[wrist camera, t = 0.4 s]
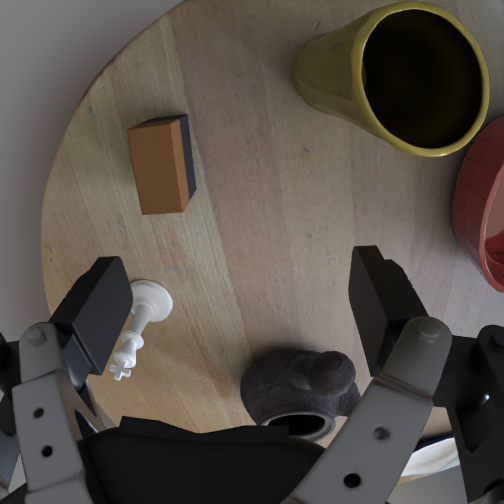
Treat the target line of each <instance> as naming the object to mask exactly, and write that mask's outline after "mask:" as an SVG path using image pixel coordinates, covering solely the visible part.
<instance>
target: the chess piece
mask: <svg viewBox="0 0 504 504" xmlns="http://www.w3.org/2000/svg"><path fill="white" fill-rule="evenodd" d="M130 286H131V289H132V293H133V305H132V308H131V312H132V313H133V314H134V318H133V322H132V326H131V329H130V331H124V332H123V333H122V334H121V340H122V342H123V343H124V344H122V346H121V347H120V348H119V349H117V350H116V351H115V352H114V354H113V358H114V360H115V362H116V363H117V364H119V366H116V365H113V364H111V365H110V371H111V372H114V373H115V376H114V379H115V380H118V381H120V378H121V376H122V375H123V376H126V377H129V376H130V372H131V370H128V369H125V368H132V367H134V366H135V364H136V349H139V348H141V347H142V346H143V344H144V340H143V338H142V337H141V336H140V335H141V333H142V331H143V329H144V328H145V326H146V324H147V323H148V322H159V321H162V320H164V319H165V318H167V317H168V315H169V314H170V312H171V310H172V307H173V302H172V298H171V296H170V294H169V293H168V292H167V291H166V289H164V288H163V287H162V286H161V285H159V284H157V283H155V282H152V281H148V280H139V281H135V282H133V283H132V284H130Z"/></svg>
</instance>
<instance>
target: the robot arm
mask: <svg viewBox="0 0 504 504" xmlns="http://www.w3.org/2000/svg"><path fill="white" fill-rule="evenodd" d="M348 291H349V301H350V305H351V308H352V311H353V315H354V318H355V321H356V325H357V328H358V331H359V335H360V338H361V342H362V346H363V349H364V353H365V356H366V360H367V364H368V368H369V371H370V375H371V377H374V378H373V379H372V381H371V382H370V384H369V386H368V387H367V389H366V390H365V392H364V394H363V395H362V397H361V399H360V400H359V402H358V403H357V405H356V406H355V408H354V409H353V411H352V413H351V414H350V416H349V417H348V419H347V420H346V422H345V423H344V425H343V426H342V427H341V429H340V430H339V432H338V433H337V435H336V436H335V437H334V439H333V440H332V442H331V443H330V444H329V446H328V447H327V449H326V448H324V447H322V446H320V445H319V444H316V443H314V442H311V441H309V440H306V439H302V438H299V437H294V436H289V425H245V426H240V427H235V428H230V429H225V430H219V431H213V432H208V433H194V432H191V431H188V430H185V429H182V428H179V427H176V426H173V425H170V424H167V423H164V422H161V421H158V420H150V419H142V418H134V417H127V416H122V419H121V422H120V425H119V427H114V428H109V429H106V427H105V425H104V423H103V421H102V419H101V415H100V413H99V410H98V407H97V405H96V402H95V399H94V396H93V393H92V390H91V387H90V385H89V383H88V381H87V380H86V378H87V376H88V374H94V375H102V373H103V371H104V369H105V366H106V364H107V362H108V359H109V357H110V355H111V352H112V350H113V348H114V345H115V343H116V341H117V339H118V337H119V334H120V332H121V330H122V328H123V326H124V323H125V321H126V319H127V317H128V315H129V313H130V311H131V308H132V305H133V293H132V289H131V286H130V283H129V280H128V277H127V274H126V271H125V268H124V265H123V262H122V260H121V258H120V257H119V256H109V257H99V258H98V259H97V260H96V261H95V263H94V264H93V265H92V267H91V268H90V270H89V271H87V272H86V273H85V274H83V275H82V276H81V277H80V278H78V279H77V281H76V282H75V283H74V285H73V286H72V288H71V290H69V292H68V293H67V295H66V298H64V299H63V300H62V302H61V303H60V305H59V306H58V308H57V309H56V311H55V312H54V314H53V315H52V317H51V318H50V320H49V321H48V322H40V323H37V324H34V325H33V326H31V327H29V328H28V329H27V330H26V331H25V332H24V333H23V335H22V336H21V338H20V340H19V341H14V342H6V340H5V338H4V337H3V336H2V334H1V333H0V390H1V391H2V392H3V393H4V396H3V398H2V400H1V402H0V504H390V503H389V502H387V499H388V497H389V496H390V494H391V492H392V491H393V489H394V487H395V485H396V484H397V482H398V480H399V478H400V476H401V475H402V473H403V471H404V469H405V467H406V465H407V463H408V461H409V459H410V457H411V455H412V453H413V451H414V449H415V447H416V445H417V443H418V441H419V438H420V436H421V434H422V432H423V429H424V427H425V425H426V423H427V420H428V418H429V415H430V413H431V410H432V408H433V406H434V407H445V408H446V410H447V413H448V417H449V420H450V424H451V428H452V432H453V435H454V439H455V443H456V447H457V452H458V456H459V460H460V465H461V470H462V474H463V479H464V484H465V490H466V496H467V501H468V504H504V327H502V326H498V325H487V326H485V327H483V328H482V329H481V330H480V332H479V334H478V336H477V338H470V337H462V336H455V335H452V333H451V331H450V329H449V328H448V327H447V326H446V325H445V324H444V323H443V322H442V321H440V320H438V319H436V318H433V317H429V315H428V314H427V312H426V310H425V308H424V306H423V304H422V302H421V300H420V299H419V297H418V295H417V293H416V291H415V290H414V288H412V284H411V282H410V281H409V280H408V277H407V275H406V274H405V272H404V270H403V269H402V267H400V266H399V265H398V264H397V263H395V262H394V261H393V260H391V259H389V260H384V258H383V256H382V254H381V253H380V251H379V249H378V247H377V246H376V245H372V246H354V248H353V251H352V260H351V269H350V278H349V288H348ZM19 453H20V454H21V459H22V464H23V469H24V473H25V477H26V481H27V482H26V483H25V484H23V485H22V486H21V487H19V488H17V489H16V490H15V491H13V492H12V493H9V491H8V488H9V485H10V481H11V478H12V475H13V471H14V468H15V465H16V462H17V459H18V456H19Z"/></svg>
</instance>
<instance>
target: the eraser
mask: <svg viewBox="0 0 504 504" xmlns="http://www.w3.org/2000/svg"><path fill="white" fill-rule="evenodd" d="M127 133H128V140H129V146H130V152H131V158H132V164H133V170H134V175H135V180H136V186H137V191H138V196H139V201H140V206H141V211H142V215H149V214H164V213H180V212H184V210H185V208H186V206H187V204H188V203H189V201H190V199H191V197H192V196H193V194H194V192H195V190H196V184H195V176H194V168H193V159H192V151H191V142H190V133H189V124H188V115H187V114H185V115H177V116H169V117H162V118H155V119H150V120H147V121H145V122H143V123H141V124H139V125H136V126H134V127H132V128H130V129H128V130H127Z"/></svg>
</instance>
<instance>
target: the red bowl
mask: <svg viewBox="0 0 504 504" xmlns="http://www.w3.org/2000/svg"><path fill="white" fill-rule="evenodd" d="M453 227H454V231H455V234H456V238H457V242H458V244H459V246H460V247H461V249H462V251H463V252H464V254H465V256H466V257H467V258H468V259H469V260H470V261H471V263H472V264H473V265H474V266H475V267H476V269H477V270H478V271H479V272H480V274H481V275H482V276H483V277H484V279H485V280H486V281H487V282H488V284H490V285H491V286H492V287H493V288H495V289H496V290H497V291H498V292H502V293H504V115H503V116H501V117H499V118H497V119H495V120H494V121H492V122H490V123H489V124H488V125H487V126H486V127H485V128H484V129H483V130H482V131H481V132H480V133H479V134H478V135H477V137H476V139H475V140H474V142H473V144H472V145H471V147H470V149H469V150H468V152H467V154H466V155H465V157H464V160H463V163H462V166H461V168H460V171H459V174H458V176H457V180H456V186H455V192H454V197H453Z"/></svg>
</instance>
